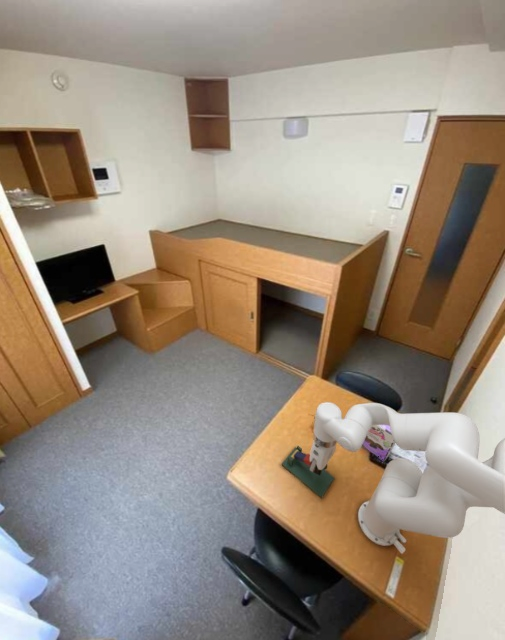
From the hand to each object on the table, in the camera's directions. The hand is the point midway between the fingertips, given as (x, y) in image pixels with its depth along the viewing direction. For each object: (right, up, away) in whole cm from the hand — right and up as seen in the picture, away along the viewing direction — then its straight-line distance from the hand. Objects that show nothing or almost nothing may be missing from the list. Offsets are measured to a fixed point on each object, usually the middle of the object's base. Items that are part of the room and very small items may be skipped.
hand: (319, 467), depth 99 cm
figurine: (+4, +5, +22) cm, 23 cm away
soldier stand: (-3, -5, +7) cm, 9 cm away
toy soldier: (-3, 0, +3) cm, 4 cm away
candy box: (+25, +1, +16) cm, 30 cm away
